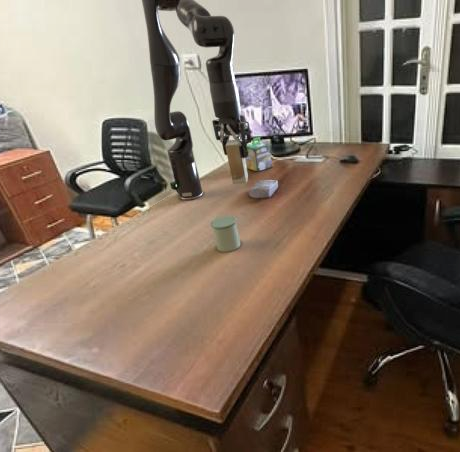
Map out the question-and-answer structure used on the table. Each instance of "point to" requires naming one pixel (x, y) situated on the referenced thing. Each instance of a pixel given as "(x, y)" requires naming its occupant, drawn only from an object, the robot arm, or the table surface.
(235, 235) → the canister
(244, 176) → the cosmetic box
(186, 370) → the table surface
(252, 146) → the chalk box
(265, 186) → the stone block
